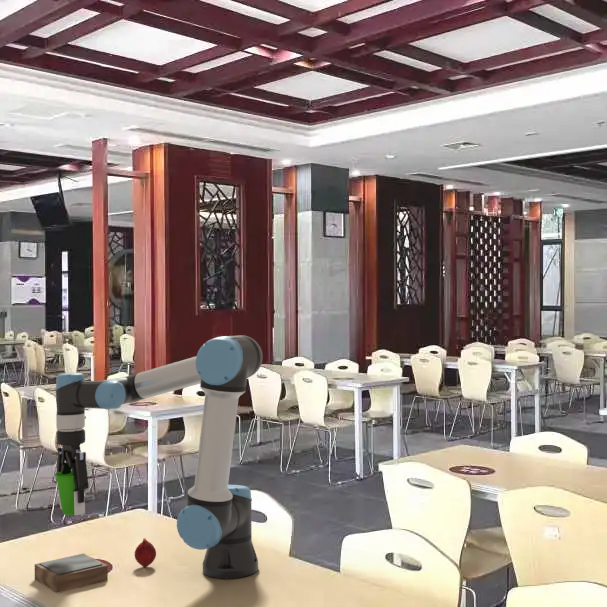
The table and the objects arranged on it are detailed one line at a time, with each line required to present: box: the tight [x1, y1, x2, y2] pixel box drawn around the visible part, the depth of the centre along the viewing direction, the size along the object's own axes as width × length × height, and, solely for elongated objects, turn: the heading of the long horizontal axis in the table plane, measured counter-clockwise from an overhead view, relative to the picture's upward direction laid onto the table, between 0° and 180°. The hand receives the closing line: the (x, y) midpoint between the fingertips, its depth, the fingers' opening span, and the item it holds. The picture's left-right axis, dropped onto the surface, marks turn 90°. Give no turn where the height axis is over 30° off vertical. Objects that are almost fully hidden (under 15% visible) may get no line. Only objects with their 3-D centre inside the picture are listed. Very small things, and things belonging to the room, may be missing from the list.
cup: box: [54, 470, 89, 516], centre depth 227 cm, size 9×9×11 cm
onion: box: [134, 537, 157, 568], centre depth 228 cm, size 6×6×8 cm
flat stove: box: [34, 553, 109, 594], centre depth 218 cm, size 14×14×4 cm
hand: (72, 511), depth 226 cm, fingers closed on cup, 9 cm apart
